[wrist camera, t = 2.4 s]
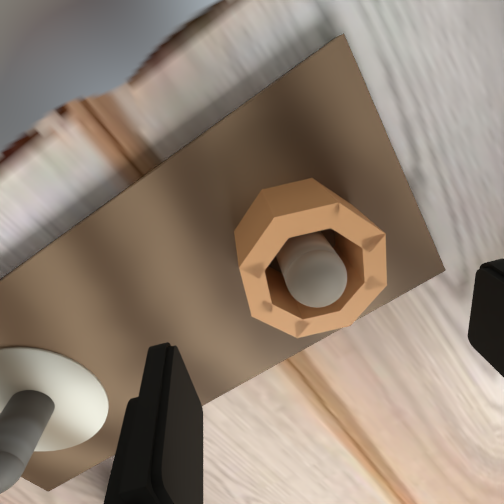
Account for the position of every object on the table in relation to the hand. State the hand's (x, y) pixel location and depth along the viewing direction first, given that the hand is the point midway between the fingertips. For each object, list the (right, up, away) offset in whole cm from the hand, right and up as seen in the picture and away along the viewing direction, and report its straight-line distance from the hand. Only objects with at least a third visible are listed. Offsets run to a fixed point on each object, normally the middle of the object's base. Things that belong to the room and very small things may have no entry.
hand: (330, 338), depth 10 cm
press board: (-8, -1, +10) cm, 13 cm away
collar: (0, +3, +8) cm, 8 cm away
